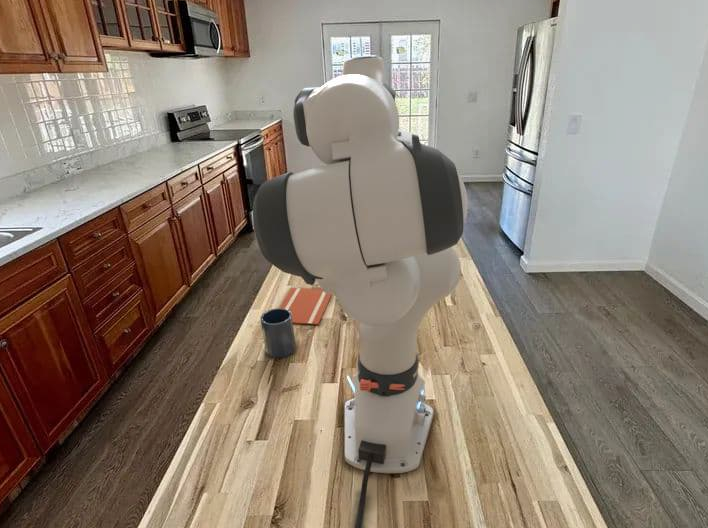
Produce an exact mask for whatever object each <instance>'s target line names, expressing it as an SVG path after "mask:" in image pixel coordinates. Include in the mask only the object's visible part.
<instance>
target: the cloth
mask: <svg viewBox="0 0 708 528" xmlns="http://www.w3.org/2000/svg"><path fill="white" fill-rule="evenodd" d="M332 296H333V295H329V294H326V293H325V292H324V291H323V290H322V289H321V288H320V289H318V288H301V287H299V288H298V287H297V288H296V287H295V288H294V287H291V288H290V290H289V292H288V293H287V295H286V296H285V298H284V299H283V301H282V302H281V304H280V306H279V307H278V308H283V309H287V310H289V311H290V312H291V314H292V321H293V325H309V326H310V325H311V326H313V325H314V326H319V324H320V323H321V320H322V318H323V315H324V313H325V310H326V309H327V307H328V305H329V302H330V300H331V297H332Z"/></svg>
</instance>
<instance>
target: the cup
mask: <svg viewBox="0 0 708 528" xmlns="http://www.w3.org/2000/svg"><path fill="white" fill-rule="evenodd" d="M260 325H261V330H262V338H263V341H264V342H263V343H264V351H265V354H266V355H267V356H268V357H270V358H274V359H280V358H286V357H289V356H290V355H292V354H293V353H294V352H295V351H296V347H297V346H296V341H295V340H296V337H295V330H294V324H293V321H292V314H291V312H290V311H289V310H287V309H283V308H279V307H277V308H271V309H269V310H266V311H265V312H263V313H262V314H261V315H260Z"/></svg>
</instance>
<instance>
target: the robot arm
mask: <svg viewBox="0 0 708 528" xmlns="http://www.w3.org/2000/svg"><path fill="white" fill-rule="evenodd" d="M396 96H397V91H396V90H395V89H393V88H392V87H391V86H390V85H389V84H388V78H387V73H386V68H385V64H384V60H383V58H382V57H381V56H379V55H375V54H371V55H361V56H360V55H359V56H354V57H349V58H346V59H345V60H344V61H343V62H342V75H341V76H337V77H335V78H333V79H331V80H330V81H327V82H326V83H325V84H324V85H322V86H321V87H304V88H302V89H301V90H300V92H299V93H298V94H297V96H296V97H295V99H294V104H293V121H294V122H293V123H294V128H295V134H296V138H297V139H298V141H299V142H300V144H301V145H302V146H305V147H310V148H311V150H312V151H313V153H314V154H315V156H316V157H317V158H318V160H320V162H322V163H323V164H325V165H320V166H317V167H313V168H309V169H306V170H302V171H299V172H297V173H294V172H292V171H288V172H286V173H285V172H284V173H283V174H279V175H277V176H274V177H273V178H270V179H269V180H266V181H265V182H263V183H262V184H260V185H259V187H258V189H257V191H256V194H255V196H254V198H253V203H252V223H253V224H252V225H253V231H254V235H255V239H256V242H257V246H258V248H259V250H260V252H261V254H262V256H263V257H264V259H265V260H266V261H267V262H269V263H270V264H271V265H272V266H274V267H275V268H277V269H278V270H280V271H281V272H283V273H285V274H287V275H292V276H294V277H301V279H303V281H304V283H305V284H306V285H310V286H314V284H315V283H316V281H317V284H318V286H319V288H320V289H321V290H323V291H324V292H325V293H326V294H329V295H332V296H334V297H335V299H336V301H337V302H338V305H339V307H340V309H341V310H342V311H343V313H344V314H345V315H346V316H347V317H348V318H350V319H351V320H352V321H354V322H356V323H358V324H359V326H358V338H359V339H358V342H359V354H358V356H357V365H356V366H357V367H356V368H357V372H356V373H354V374H353V375H352V379H351V378H350V376H349V375H347V376H346V378H347V381H348V383H349V384H350V387H351V389H352V391H353V397H354V398H352V399H349V400H346V401H345V402H344V408H343V409H344V410H343V411H344V413H343V414H344V417H343V418H344V419H343V421H344V423H343V424H344V425H343V427H344V429H343V431H344V433H343V435H344V436H343V437H344V443H343V444H344V447H343V449H344V453H343V455H344V456H343V457H344V460H345V462H346V463H347V464H348V465H350V466H351V467H354V468H356V469H359V470H361V471H364V472H363V476H362V482H361V490H360V495H359V502H358V509H357V515H356V519H355V526H354V528H362V522H363V516H364V510H365V503H366V497H367V491H368V490H367V489H368V484H369V483H368V482H369V477H370V472H371V473H378V474H402V473H408V472H411V471H414V470H417V469H418V468H419V466H420V464H421V460H422V457H423V454H424V451H425V447H426V443H427V439H428V436H429V434H430V433H429V432H430V429H431V426H432V422H433V419H434V415H435V413H434V408H432V406H430V405H429V404H427V403H426V381H425V379H424V378H423V377H422V376H421V375H420V374H419V358H418V353H417V343H418V336H419V335H418V334H419V329H420V326H421V323H422V321H423V319H424V317H425V316H426V314H427V313H428V312H429V311H430V310H431V309H432V308H433V307H434V306H435V305H436V304H438V303H439V302H440V301H442V300H444V299H446V298H447V297H449V296H450V295H451V294H452V293H453V292H454V290H455V289H456V288H457V286H458V284H459V281H460V278H461V273H462V265H461V260H460V257H459V255H458V253H457V251H456V249H455V248H454V246H456V245H457V244H458V243H459V241H460V239H461V238H462V236H463V234H464V226H465V225H466V220H467V218H468V217H467V216H468V209H469V207H468V206H469V203H468V202H469V201H468V193H467V189H466V186H465V183H464V181H463V178H462V176H461V175H460V173H459V172H458V169H457V166H456V164H455V163H454V162H453V160H451V159H450V158H449V157H448V156H447V155H446V154H444V153H443V152H442V151H440V149H438V148H435V147H433V146H429V145H426V144H424V143H423V144H422V143H421V141H420V140H421V139H420V136H419V135H417V134H414V133H412V132H410V131H408V130H407V131H406V130H403V129H400V115H399V114H400V112H399V109H398V106H397V102H396ZM352 380H353V382H352Z"/></svg>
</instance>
